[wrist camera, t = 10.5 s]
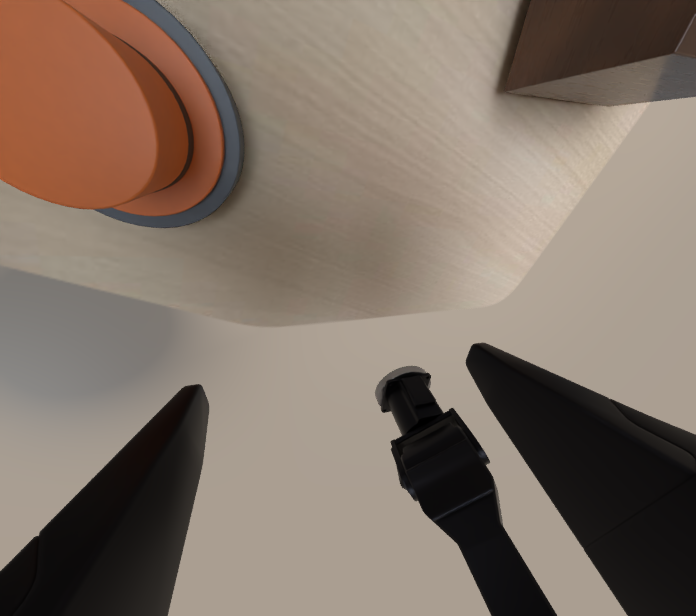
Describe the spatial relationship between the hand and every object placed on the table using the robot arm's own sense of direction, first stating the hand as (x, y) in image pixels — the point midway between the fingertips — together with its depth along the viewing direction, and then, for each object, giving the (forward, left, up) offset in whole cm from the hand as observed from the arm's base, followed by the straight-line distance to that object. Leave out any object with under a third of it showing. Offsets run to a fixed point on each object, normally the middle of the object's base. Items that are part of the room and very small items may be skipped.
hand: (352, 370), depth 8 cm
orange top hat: (+7, +8, -10) cm, 14 cm away
